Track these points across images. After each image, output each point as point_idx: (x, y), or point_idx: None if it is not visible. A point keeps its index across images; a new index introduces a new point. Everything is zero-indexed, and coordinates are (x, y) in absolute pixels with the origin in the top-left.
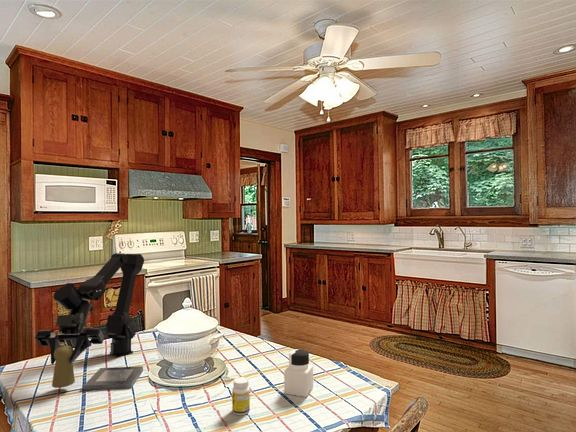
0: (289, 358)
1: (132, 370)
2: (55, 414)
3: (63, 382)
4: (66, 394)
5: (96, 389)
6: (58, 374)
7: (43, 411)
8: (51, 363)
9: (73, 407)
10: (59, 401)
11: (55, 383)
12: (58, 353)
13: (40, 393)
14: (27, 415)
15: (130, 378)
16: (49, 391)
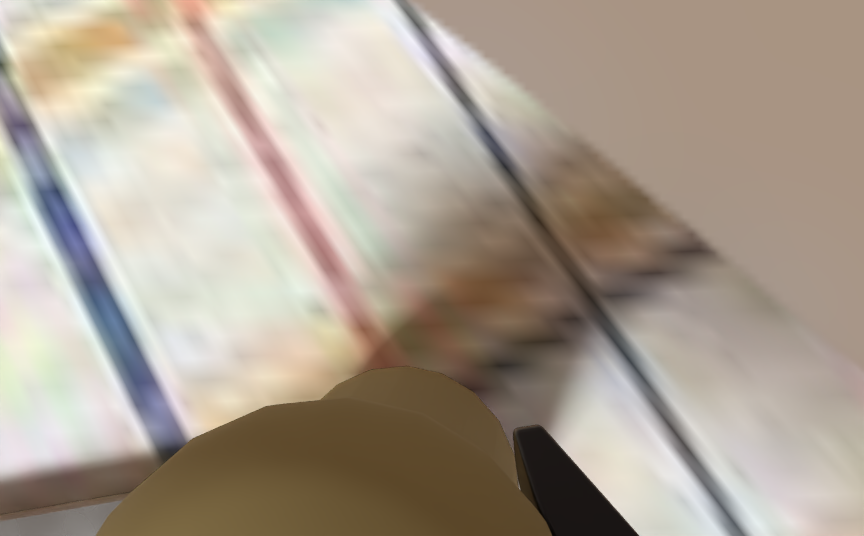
0: None
1: None
2: (199, 31)
3: (332, 392)
4: (322, 387)
5: (67, 503)
6: (384, 391)
7: (327, 69)
8: (531, 431)
9: (116, 145)
10: (302, 243)
11: (423, 375)
12: (324, 417)
13: (599, 397)
14: (412, 4)
15: None
16: None
